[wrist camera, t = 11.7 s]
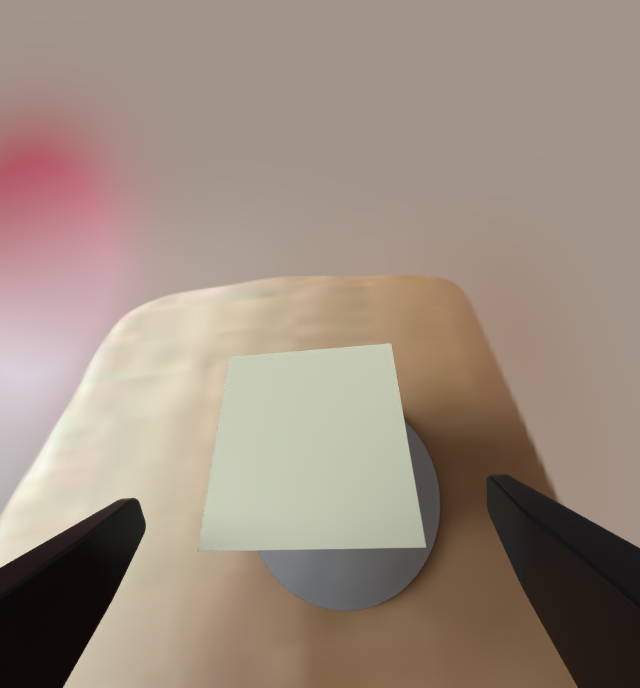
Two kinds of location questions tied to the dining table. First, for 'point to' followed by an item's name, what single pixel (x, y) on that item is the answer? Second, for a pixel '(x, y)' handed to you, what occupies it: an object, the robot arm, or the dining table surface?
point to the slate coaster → (362, 555)
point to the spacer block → (312, 455)
